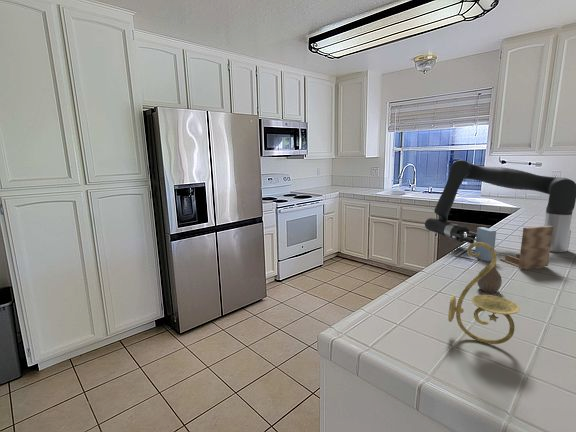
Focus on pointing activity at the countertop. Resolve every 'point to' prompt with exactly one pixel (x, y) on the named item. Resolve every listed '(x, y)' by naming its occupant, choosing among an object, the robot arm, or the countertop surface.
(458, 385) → the countertop surface
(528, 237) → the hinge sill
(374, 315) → the countertop surface
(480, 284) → the vase
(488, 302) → the wall sconce
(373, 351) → the countertop surface
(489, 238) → the light blue rectangular block
